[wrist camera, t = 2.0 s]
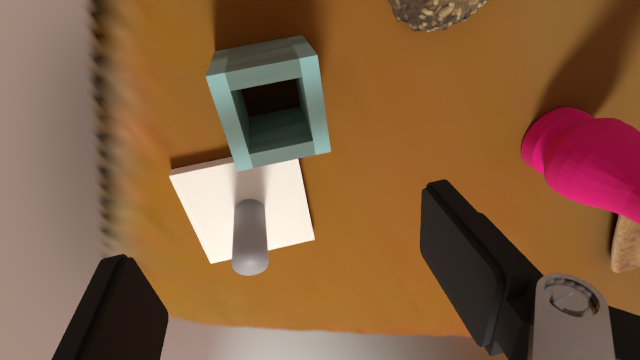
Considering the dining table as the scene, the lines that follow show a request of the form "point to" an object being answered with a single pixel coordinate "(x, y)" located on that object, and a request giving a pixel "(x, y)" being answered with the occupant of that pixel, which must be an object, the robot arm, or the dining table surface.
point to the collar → (275, 127)
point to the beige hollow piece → (625, 245)
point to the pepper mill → (587, 159)
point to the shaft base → (233, 186)
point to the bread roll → (434, 12)
